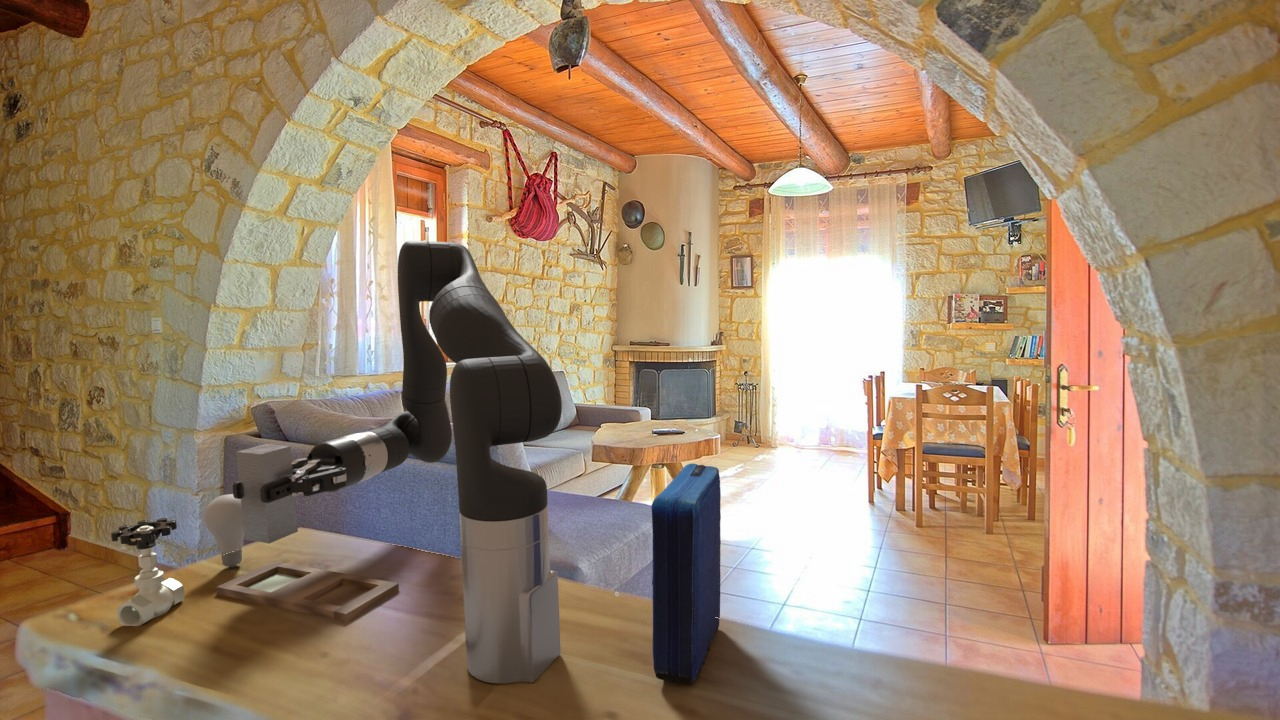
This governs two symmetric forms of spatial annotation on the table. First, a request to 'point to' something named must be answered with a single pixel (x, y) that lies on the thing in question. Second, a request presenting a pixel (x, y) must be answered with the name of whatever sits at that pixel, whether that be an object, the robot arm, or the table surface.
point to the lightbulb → (226, 527)
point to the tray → (309, 590)
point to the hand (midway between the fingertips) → (249, 493)
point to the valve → (148, 574)
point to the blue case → (686, 572)
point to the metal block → (254, 473)
